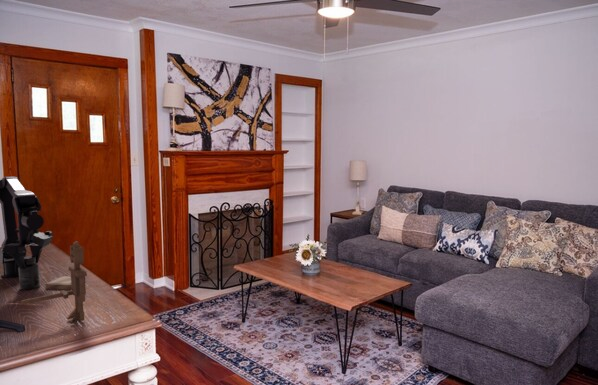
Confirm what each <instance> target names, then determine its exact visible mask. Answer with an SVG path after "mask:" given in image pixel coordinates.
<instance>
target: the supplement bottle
mask: <svg viewBox="0 0 598 385" xmlns="http://www.w3.org/2000/svg"><path fill="white" fill-rule="evenodd" d="M35 261H36V258H35V256H32V255H29V256H28V255H26V257H24V268H23V269H20V267H19V268H18V269H19V276H18V280H19V281H18V282H19V289H20V290H24V291H29V290H34V289H38V288H40V286H41V276H40V265H39V263H35Z"/></svg>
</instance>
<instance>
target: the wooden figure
mask: <svg viewBox="0 0 598 385" xmlns="http://www.w3.org/2000/svg"><path fill="white" fill-rule="evenodd" d="M69 256H70V258H69V259H70V263H71V264H73V265H69V266H68V271H69V272H70V277H71V286H72V289H71V290H68V291H66V289H60V290H59V293H58V292H57V293H52V294H48V295H43V296H38V297H31V298H26V299H23V300H21V305H22V306H24V305H28V304H33V303H39V302H44V301H49V300H53V299H58V298H59V299H60V298H63V299H64V300H66V299H69V296H74V309H73V310H72V311H71V313H70V314H69V315H68V316H67V317H66V319H67V320H69V323H70V324H74V323H77V324H78V325H79V327H81V328H82V327H83V326H82V325H83V324H81V322H82V321H85V311H84V303H85V302H86V294H87V293H86V281H85V280H86V277H87V276H88V274H87V271H86V270H85V269H84V268H83V267H82V266H81V265H83V264H84V263H85V257H84V247H83V246H81V245H80V244H79V241H77V240H76V241H74V242H73V243H72V245H70V246H69Z"/></svg>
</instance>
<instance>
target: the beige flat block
mask: <svg viewBox="0 0 598 385" xmlns="http://www.w3.org/2000/svg"><path fill="white" fill-rule="evenodd" d="M44 286H45V289H47V290H67V289H69V290H68V291H71V290H72V286H71V275H70V276H68V275H67V276H66V275H65V276H64V275H62V276H60V277H57V278H55V279H53V280H51V281H49V282H46V283H45V285H44Z"/></svg>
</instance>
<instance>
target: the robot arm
mask: <svg viewBox="0 0 598 385" xmlns="http://www.w3.org/2000/svg"><path fill="white" fill-rule="evenodd" d="M0 207H1V208H0V209H1V215H2V225H3V233H4V239H3V241H2V243H1V245H0V246H1V247H0V248H1V249H0V264H2V265H3V266H2V267H3V268H2V269H3V274H2V275H0V277H1V278H16V277H19V269H18V268H19V267H20V269H23V268H24V257H26V256H27V252H28V251H27V248H29V250H30V253H31V256H35V258H36V261H35V263H37V264H39V261H40V257H41V254H42V251H43V249H44V248H46V247H47V246H49V245H50V244H51V243H52V240H53V239H54V234H53V231H51V230H48V231H45V232H40V229H41V228H42V227H43V225H44V222H45V220H44V218H43V216H42V215H40V214H38V212H41V211H42V205H41V203H40V200H39V198H38V196H37V195H36V194H35V193H34V192H32V191H30V190H26V189H25V187H24V186H23V184H22V183H21V182H20V180H19V177H17V176H4V177H2V178H1V179H0ZM16 217H17V218H16Z"/></svg>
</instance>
